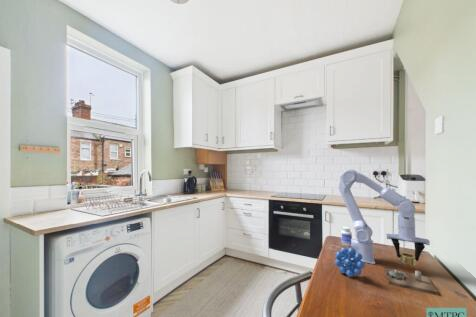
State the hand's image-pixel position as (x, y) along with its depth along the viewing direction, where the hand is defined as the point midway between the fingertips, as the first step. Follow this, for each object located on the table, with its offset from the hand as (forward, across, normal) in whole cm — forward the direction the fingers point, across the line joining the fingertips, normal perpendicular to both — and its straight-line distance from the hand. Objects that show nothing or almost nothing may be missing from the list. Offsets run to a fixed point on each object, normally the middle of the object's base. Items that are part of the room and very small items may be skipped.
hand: (407, 258), depth 88 cm
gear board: (+5, -2, -12) cm, 13 cm away
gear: (+2, 0, 0) cm, 2 cm away
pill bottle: (+5, -24, +20) cm, 32 cm away
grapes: (+5, -22, -18) cm, 29 cm away
